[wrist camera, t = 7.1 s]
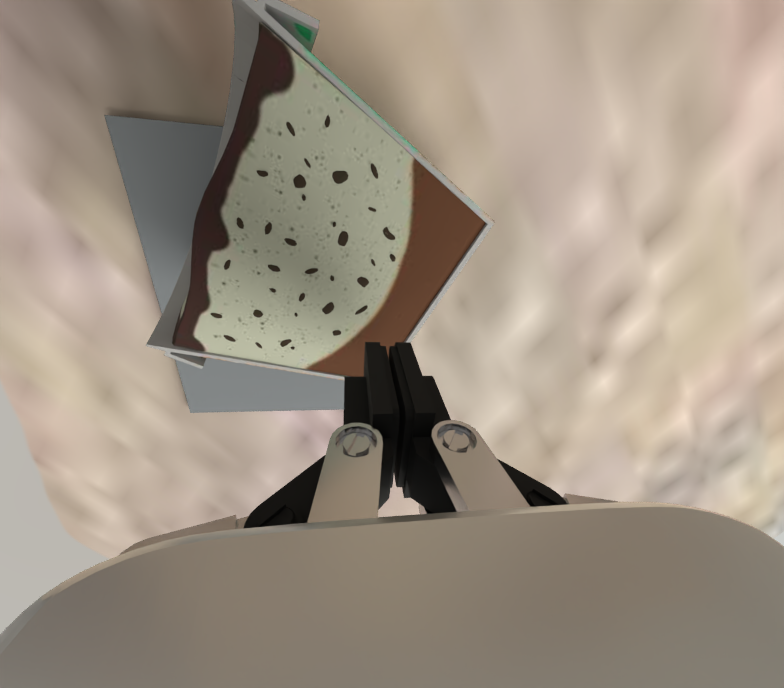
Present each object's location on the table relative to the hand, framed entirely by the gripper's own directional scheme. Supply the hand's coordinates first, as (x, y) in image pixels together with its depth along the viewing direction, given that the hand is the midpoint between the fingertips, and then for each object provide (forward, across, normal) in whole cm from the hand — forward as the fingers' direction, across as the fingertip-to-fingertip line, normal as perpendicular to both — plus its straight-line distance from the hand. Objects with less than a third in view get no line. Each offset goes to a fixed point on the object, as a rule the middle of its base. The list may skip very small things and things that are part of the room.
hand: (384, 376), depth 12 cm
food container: (+6, -2, -2) cm, 7 cm away
